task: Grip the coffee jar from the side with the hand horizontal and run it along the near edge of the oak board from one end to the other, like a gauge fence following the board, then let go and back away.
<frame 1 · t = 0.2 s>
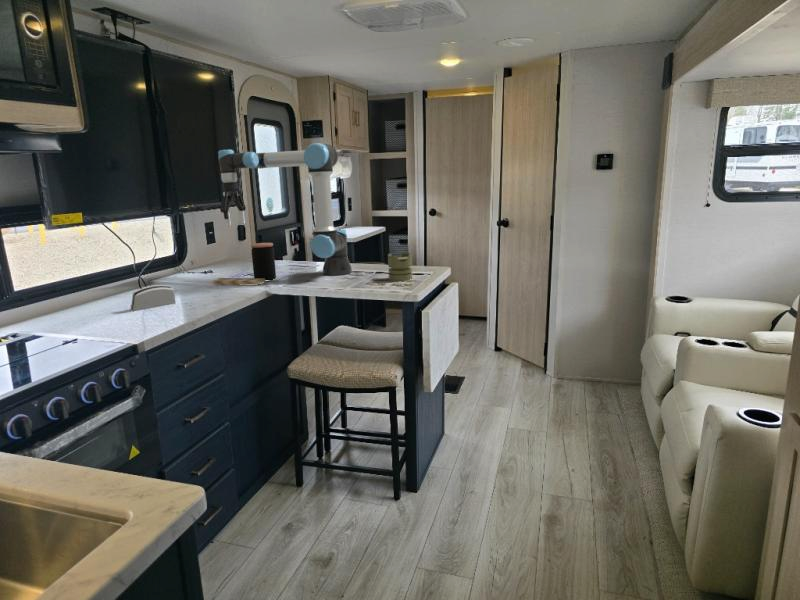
hand: (235, 224, 269), 27 cm above the table, tool pointing down, fingers open, 13 cm apart
coffee jar: (265, 280, 265), on the table
oak board: (239, 283, 257), on the table
piston: (400, 279, 256), on the table
beige arched block: (154, 307, 216), on the table
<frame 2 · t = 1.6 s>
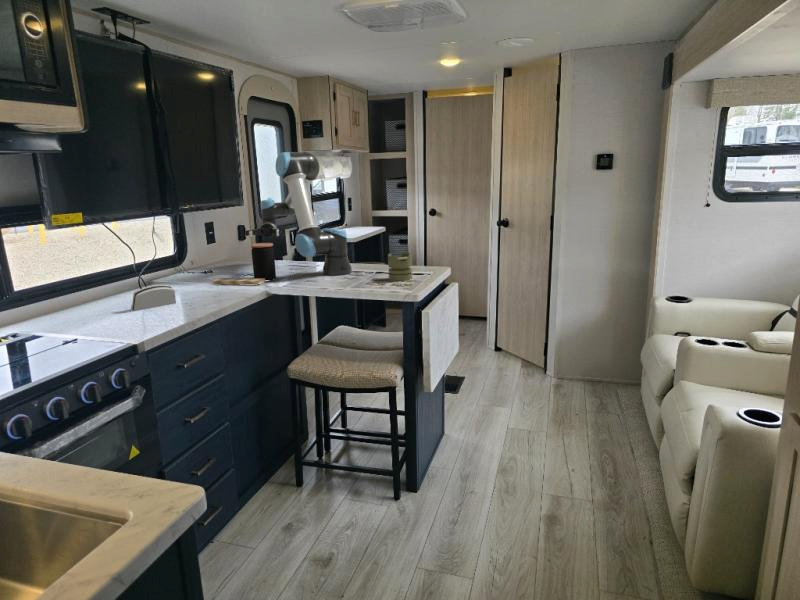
hand: (263, 234, 269), 22 cm above the table, tool horizontal, fingers open, 13 cm apart
nothing on the table moved.
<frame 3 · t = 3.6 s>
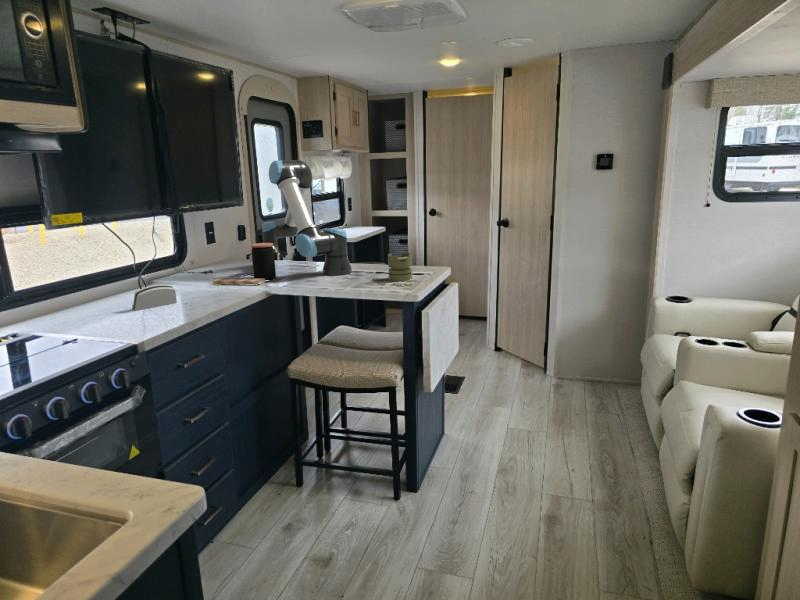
hand: (264, 258, 269), 10 cm above the table, tool horizontal, fingers open, 13 cm apart
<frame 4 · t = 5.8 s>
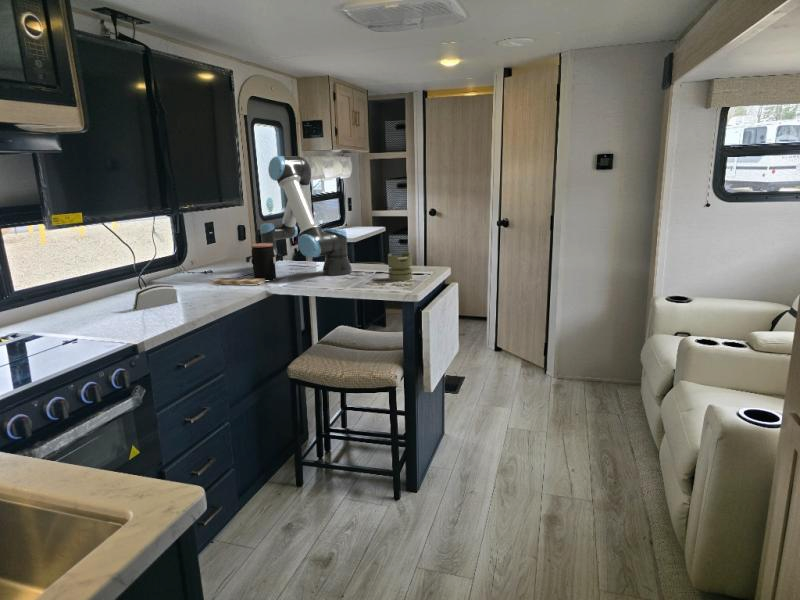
hand: (262, 261, 258), 10 cm above the table, tool horizontal, fingers closed on coffee jar, 11 cm apart
coffee jar: (265, 280, 265), on the table, touching gripper
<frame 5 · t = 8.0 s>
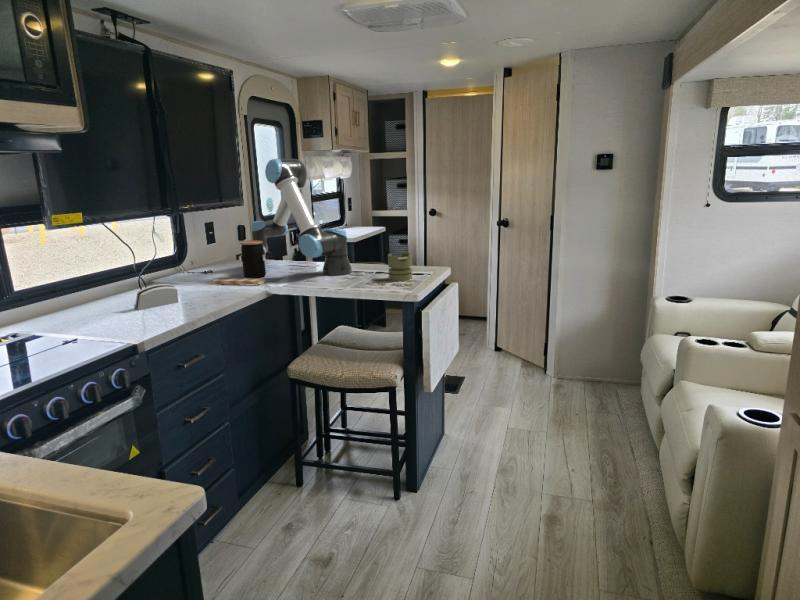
hand: (252, 258, 260), 11 cm above the table, tool horizontal, fingers closed on coffee jar, 11 cm apart
coffee jar: (255, 277, 266), point 1 cm above the table, touching gripper
when the fingers open (10 cm above the table, at t = 10.6 s): coffee jar stays where it is, on the table.
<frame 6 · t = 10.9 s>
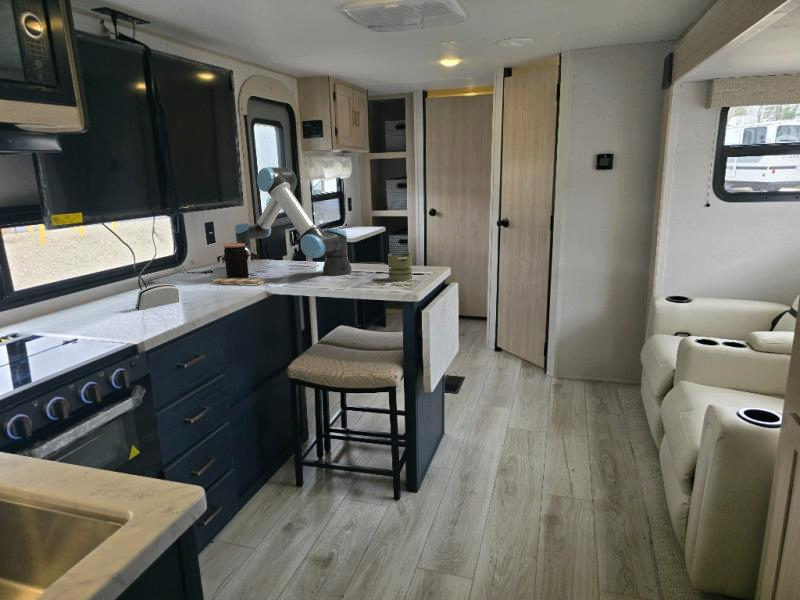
hand: (234, 260, 262), 10 cm above the table, tool horizontal, fingers open, 13 cm apart
coffee jar: (238, 279, 268), on the table
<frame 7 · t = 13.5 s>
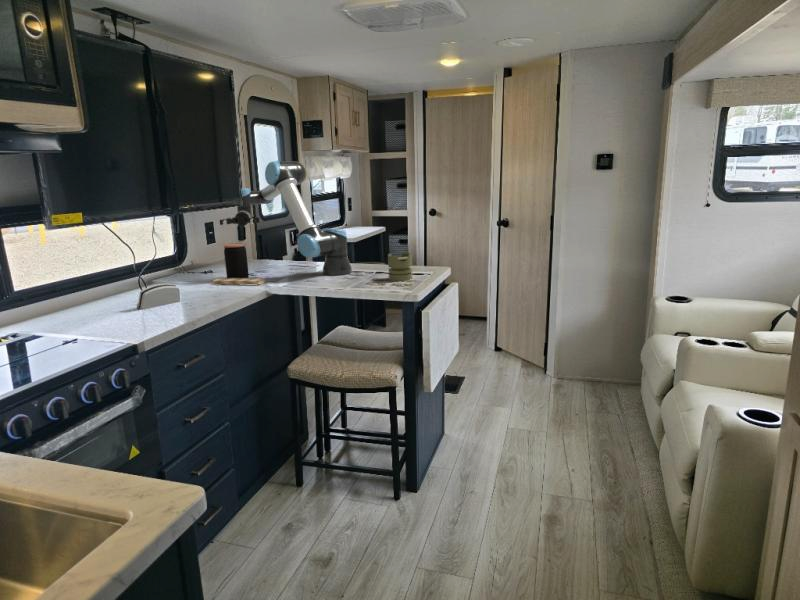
hand: (237, 223, 271), 28 cm above the table, tool horizontal, fingers open, 13 cm apart
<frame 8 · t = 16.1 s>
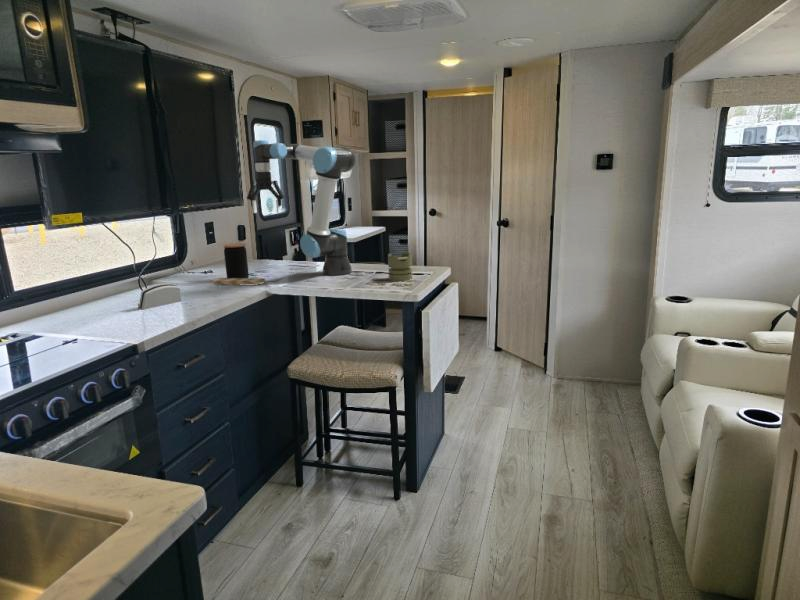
hand: (266, 212, 280), 32 cm above the table, tool pointing down, fingers open, 13 cm apart
at the end: coffee jar inside the target area (0.6 cm from its centre), on the table; coffee jar tilted 0°; the gripper is holding nothing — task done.
